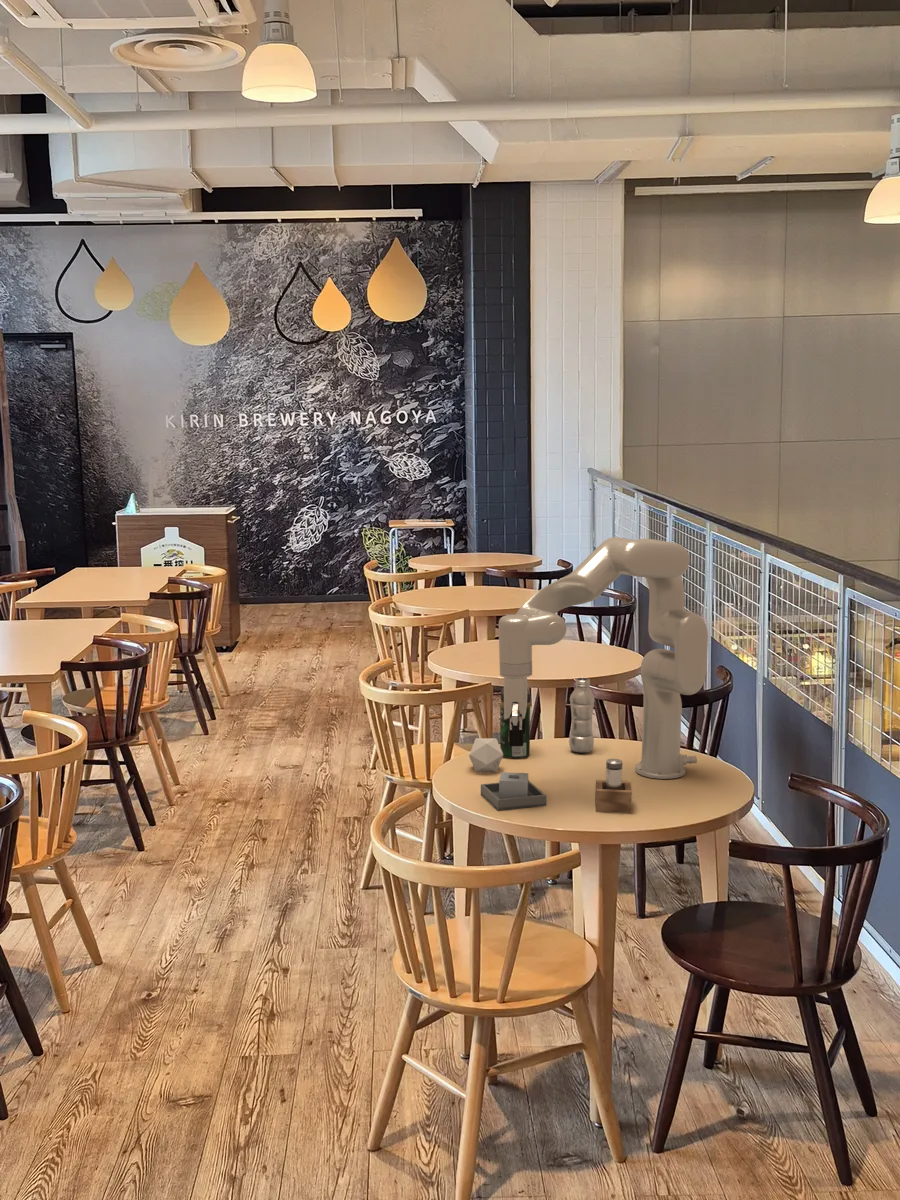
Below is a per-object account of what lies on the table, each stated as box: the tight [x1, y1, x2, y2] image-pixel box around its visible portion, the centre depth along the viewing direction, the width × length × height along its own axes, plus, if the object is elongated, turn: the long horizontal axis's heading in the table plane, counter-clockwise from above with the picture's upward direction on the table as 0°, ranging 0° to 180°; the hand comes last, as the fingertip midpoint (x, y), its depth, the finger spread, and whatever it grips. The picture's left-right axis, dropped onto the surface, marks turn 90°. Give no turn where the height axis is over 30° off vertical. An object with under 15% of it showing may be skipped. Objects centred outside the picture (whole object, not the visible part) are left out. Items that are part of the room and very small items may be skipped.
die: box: [468, 737, 504, 773], centre depth 294 cm, size 8×9×10 cm
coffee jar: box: [499, 687, 531, 760], centre depth 307 cm, size 10×8×19 cm
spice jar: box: [605, 758, 623, 790], centre depth 267 cm, size 4×4×11 cm
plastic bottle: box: [568, 677, 595, 754], centre depth 310 cm, size 6×7×20 cm
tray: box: [480, 779, 548, 812], centre depth 272 cm, size 12×12×2 cm
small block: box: [498, 771, 529, 799], centre depth 272 cm, size 6×6×5 cm
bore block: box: [594, 779, 633, 814], centre depth 268 cm, size 8×8×5 cm
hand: (517, 739), depth 270 cm, fingers open, 9 cm apart
